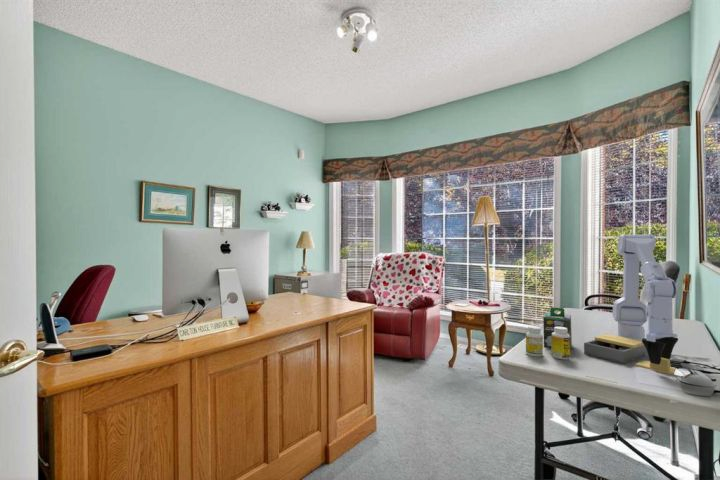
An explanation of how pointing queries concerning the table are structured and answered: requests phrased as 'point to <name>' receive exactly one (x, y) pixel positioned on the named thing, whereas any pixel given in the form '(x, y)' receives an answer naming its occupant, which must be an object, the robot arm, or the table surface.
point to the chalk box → (555, 325)
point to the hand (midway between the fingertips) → (660, 361)
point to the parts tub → (615, 348)
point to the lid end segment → (658, 366)
